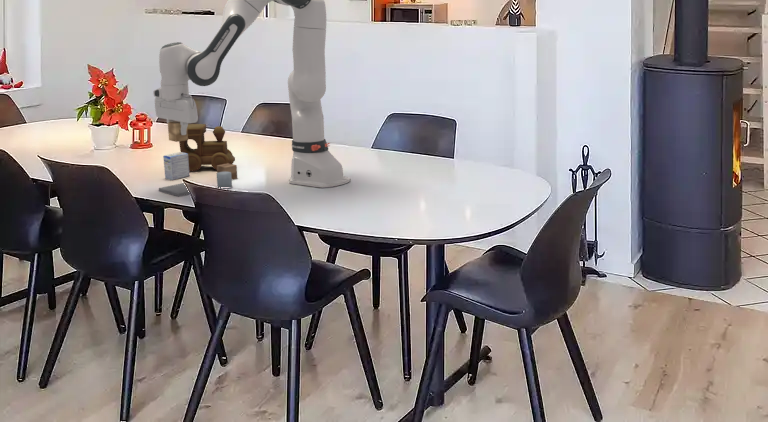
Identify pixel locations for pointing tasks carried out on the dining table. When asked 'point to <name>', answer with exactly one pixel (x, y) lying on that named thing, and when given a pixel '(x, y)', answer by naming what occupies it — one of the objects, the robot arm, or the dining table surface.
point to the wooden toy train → (206, 148)
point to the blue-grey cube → (224, 179)
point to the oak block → (176, 132)
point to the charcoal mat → (175, 190)
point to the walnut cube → (228, 169)
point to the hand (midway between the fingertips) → (178, 133)
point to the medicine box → (176, 165)
